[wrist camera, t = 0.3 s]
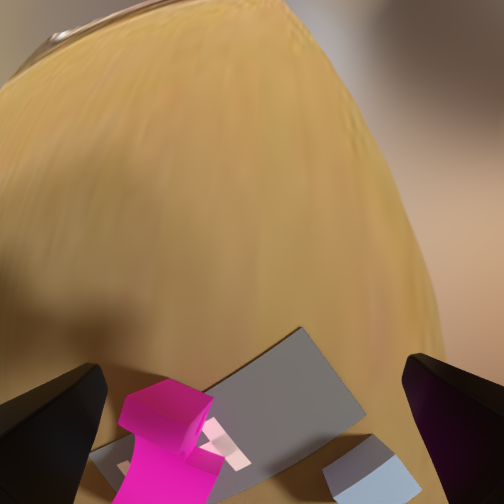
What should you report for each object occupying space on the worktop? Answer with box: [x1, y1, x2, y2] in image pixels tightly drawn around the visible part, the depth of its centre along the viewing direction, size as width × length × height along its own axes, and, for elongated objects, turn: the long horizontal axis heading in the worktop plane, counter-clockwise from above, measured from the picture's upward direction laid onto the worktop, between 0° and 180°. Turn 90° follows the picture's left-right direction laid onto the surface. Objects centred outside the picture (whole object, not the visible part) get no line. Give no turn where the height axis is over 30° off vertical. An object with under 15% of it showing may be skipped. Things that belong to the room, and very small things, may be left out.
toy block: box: [111, 378, 225, 504], centre depth 15 cm, size 15×6×8 cm, turn 160°
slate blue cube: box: [322, 434, 422, 504], centre depth 16 cm, size 5×5×5 cm
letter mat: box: [89, 327, 367, 504], centre depth 19 cm, size 9×23×1 cm, turn 125°
